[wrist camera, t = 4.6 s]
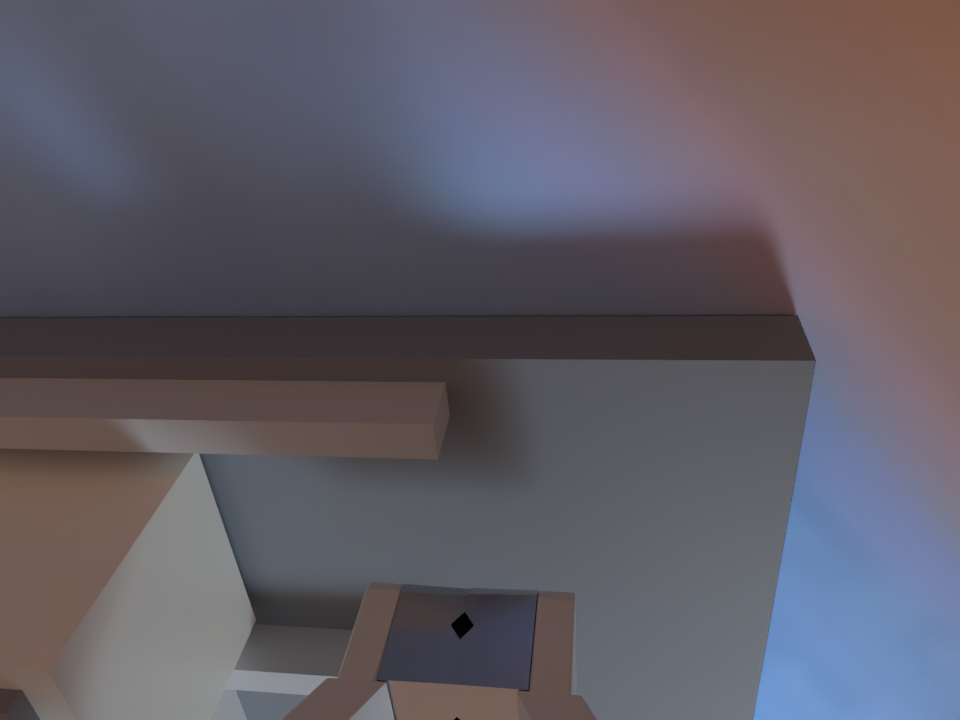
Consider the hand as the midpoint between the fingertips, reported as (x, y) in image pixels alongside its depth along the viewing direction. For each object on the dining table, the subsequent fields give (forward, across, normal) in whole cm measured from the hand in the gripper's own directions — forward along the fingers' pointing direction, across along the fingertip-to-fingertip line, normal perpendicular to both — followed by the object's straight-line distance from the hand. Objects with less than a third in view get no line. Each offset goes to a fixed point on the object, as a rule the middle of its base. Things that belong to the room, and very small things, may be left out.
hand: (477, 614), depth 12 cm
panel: (+3, +5, +4) cm, 7 cm away
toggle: (+2, +6, 0) cm, 7 cm away
